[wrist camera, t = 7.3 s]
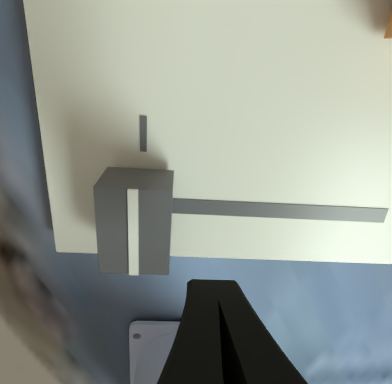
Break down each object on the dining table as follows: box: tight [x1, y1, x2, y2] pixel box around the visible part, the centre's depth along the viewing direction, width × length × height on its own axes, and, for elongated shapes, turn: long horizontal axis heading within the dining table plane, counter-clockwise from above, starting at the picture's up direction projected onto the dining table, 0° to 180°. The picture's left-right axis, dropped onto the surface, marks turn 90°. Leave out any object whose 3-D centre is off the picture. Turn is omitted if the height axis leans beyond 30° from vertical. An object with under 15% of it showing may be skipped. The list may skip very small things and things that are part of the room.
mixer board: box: [23, 0, 392, 264], centre depth 14 cm, size 18×19×2 cm
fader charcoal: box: [93, 167, 174, 275], centre depth 13 cm, size 4×3×2 cm
